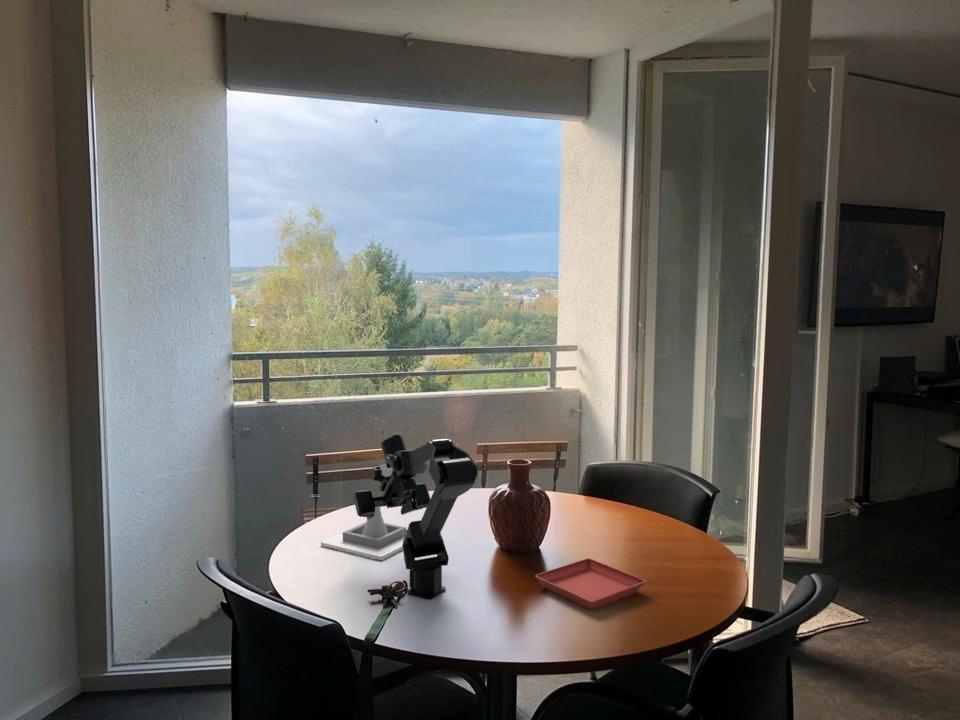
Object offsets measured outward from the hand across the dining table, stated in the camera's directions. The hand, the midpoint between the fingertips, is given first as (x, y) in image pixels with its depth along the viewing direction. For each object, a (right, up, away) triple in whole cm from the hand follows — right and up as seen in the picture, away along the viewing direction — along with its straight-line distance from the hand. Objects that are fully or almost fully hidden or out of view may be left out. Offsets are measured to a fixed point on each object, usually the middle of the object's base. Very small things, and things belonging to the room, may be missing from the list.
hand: (384, 515), depth 185 cm
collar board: (-4, -9, +8) cm, 12 cm away
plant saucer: (+49, -13, -22) cm, 55 cm away
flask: (-4, -8, +8) cm, 12 cm away
